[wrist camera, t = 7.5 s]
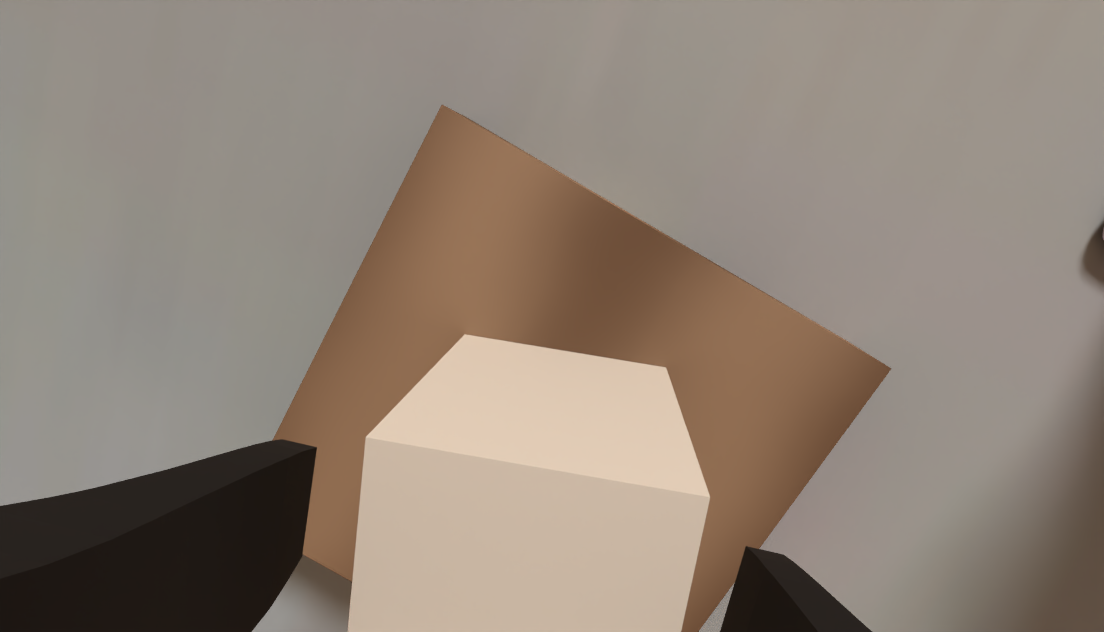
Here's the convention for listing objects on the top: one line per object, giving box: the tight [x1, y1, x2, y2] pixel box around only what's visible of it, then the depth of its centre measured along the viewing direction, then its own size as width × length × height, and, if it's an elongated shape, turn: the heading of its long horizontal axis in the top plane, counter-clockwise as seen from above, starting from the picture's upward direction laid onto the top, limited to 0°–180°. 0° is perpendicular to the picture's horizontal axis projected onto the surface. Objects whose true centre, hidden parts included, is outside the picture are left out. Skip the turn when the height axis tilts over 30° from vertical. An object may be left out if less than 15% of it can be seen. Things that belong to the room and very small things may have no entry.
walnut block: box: [272, 105, 891, 632], centre depth 16 cm, size 11×11×3 cm
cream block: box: [348, 334, 710, 632], centre depth 12 cm, size 4×4×6 cm
